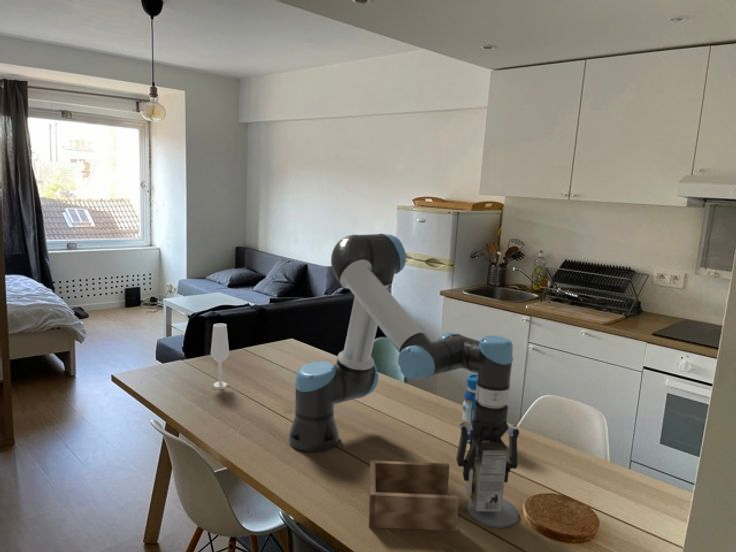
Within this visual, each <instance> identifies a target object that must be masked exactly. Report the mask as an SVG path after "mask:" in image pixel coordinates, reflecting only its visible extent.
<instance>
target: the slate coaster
mask: <svg viewBox="0 0 736 552" xmlns="http://www.w3.org/2000/svg"><path fill="white" fill-rule="evenodd" d="M466 509H467V513H468V515H469V516H470V518H471V519H473V520H474V521H475V522H476V523H478V524H480V525H482V526H486V527H489V528H492V529H493V528H494V529H506V528H509V527H512V526H514V525H516V523H517V522H518V519H519V511H518V509H517V508H516V506H515V505H514V504H513V503H511V502H510V501H509V500H507V499H504V498H502V508H501V511H476V509H475V507H474V505H473V503H472V501H471V499H469V500H468V502H467V508H466Z"/></svg>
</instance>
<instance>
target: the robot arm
mask: <svg viewBox="0 0 736 552" xmlns="http://www.w3.org/2000/svg"><path fill="white" fill-rule="evenodd" d="M406 255H407V253H406V250H405V247H404V245H403V243H402V241H401V240H400V239H399V238H398V237H397V236H395V235H393V234H385V233H378V234H377V233H376V234H375V233H374V234H350V235H347V236H345V237H343V238H341V239H340V240H339V241H338V242H337V243H336V244H335V246H334V247H333V250H332V252H331V256H330V257H331V258H330V264H331V269H332V272H333V274H334V276H335V279H336V280H337V281H338V282H339V284H340V285H341V287H343V288H344V289H349V290H350V292H351V294H353V295H354V299H353V303H352V308H351V313H350V319H349V323H348V327H347V335H346V337H345V338H346V339H345V343H344V348H343V350H342V351H339V353H338V354H337V359H336V363H335V364H333V363H332V362H329V361H326V360H325V361H324V360H321V361H313V362H309V363H306V364H303V365H302V366H300V367H299V368H298V370H297V372H296V376H295V382H294V385H295V386H294V387H295V398H294V399H295V402H294V403H295V405H294V410H295V411H294V418H293V421H292V423H291V426H290V429H289V431H288V443H289V445H290V446H291V447H292V448H294V449H296V450H299V451H302V452H309V453H317V452H324V451H328V450H330V449H333V448H334V447H335V446H337V445H338V443H339V438H340V437H339V434H340V433H339V429H338V425H337V423H336V419H335V415H334V413H335V405H337V404H340V403H344V402H348V401H352V400H355V399H361V398H363V397H365V396H368V395H370V394H372V393H373V392H374V391H375V389H376V388H377V386H378V382H379V373H378V367H377V365H376V364H375V360H374V358H373V357H372V352H373V348H374V344H375V338H376V334H377V330H378V328H379V329H380V330H381V331H382V333H383V334H384V335H385V337H386V338H387V339H388V341H390V343H391V344H392V346H393V347H394V348H395V349H396V351H398V352H397V353H399V354H398V357H397V364H398V366H399V368H400V369H399V371H400V372H401V374H402V376H403V377H405V378H407V379H408V380H413V381H414V380H420V379H421V380H422V379H428V378H430V377H433V376H436V375H438V374H439V375H440V374H443V373H447V372H450V371H454V370H458V369H463V370H467V371H470V372H472V373H474V374H475V373H476V374H477V387H476V400H477V401H476V402H475V411H474V419H473V421H472V423H471V424H466V425H465V424H464V423H462V422H461V423H460V424H459V427H460V438H459V443H458V449H457V453H456V463H457V465H458V467H463V469H462V471H463V472H462V477H463V479H464V481H465V482H466V483H465V485H466V486H465V487H466V488H465V489H466V492H467V496H469V495H471V492H472V480H473V468H472V463H473V461H474V459H475V453H476V444H477V442H474V441H473V442H472V445H471V447H470V446H469V449H468V451H467V444H468V442H467V441H468V434H470V431H471V429H473V430H474V431H475V433H476V434H475V435H476V436H478V437H479V439H478V441H484V440H492V441H496V442H497V443H502V441H503V439H502V437H503V436H504V435H505V433H507V434H508V440H509V441H508V442H509V444H508V445H509V446H508V447H509V449H508V451H509V460H508V458H507V459H506V469H505V479H504V483H508V481H509V473H510V472H511V470H512V469H513V470H516V469H517V468H518V437H519V435H520V430H519V428H518V427H517V425H515V424H514V425H509V424H508V422H507V420H508V411H509V406H508V404H509V398H510V397H509V396H510V386H511V385H510V384H511V373H512V364H513V361H514V358H513V350H514V349H513V348H514V346H513V342H512V341H511V339H509V338H507V337H505V336H498V335H485V336H484V335H483V336H482V337H481V338H480V340H477V339H474V338H472V337H471V338H470V337H468V336H465V335H463V334H459V333H453V332H446V333H443V334H442V336H440V337H439V338H438V340H435V341H431V340H430V339H429V337H428V336H427V335H426V334H425V333H424V331H423V330H422V329H421V328H420V327H419V325H418V324H417V323H416V322H415V321H414V320H413V319H412V317H411V316H410V315H409V313H407V311H406V310H405V309H404V307H402V305H401V304H400V303H399V302H398V301H397V300H396V298H395V296H393V294H392V293H391V292H390V291H389V290H388V287H390V286H391V285H392V284H393V282H394V277H395V275H396V274H399V273H400V272H401V271H403V270H404V268H405V266H406V261H407V260H406V259H407V256H406ZM466 451H467V452H466Z"/></svg>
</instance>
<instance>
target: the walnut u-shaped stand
mask: <svg viewBox="0 0 736 552" xmlns="http://www.w3.org/2000/svg"><path fill="white" fill-rule="evenodd" d="M369 462H370V465H369V467H370V468H369V481H368V482H369V485H368V487H369V488H368V528H382V529H398V530H399V529H402V530H403V529H404V530H424V531H425V530H426V531H428V530H429V531H445V532H446V531H447V532H448V531H449V532H451V531H452V532H453V531H454V532H456V531H457V526H458V516H459V514H458V512H459V502H460V499H459V495H448V493H449V491H448V489H449V481H450V480H449V478H450V477H449V476H450V463H442V462H441V463H438V462H416V461H414V462H413V461H394V460H373V459H372V460H369Z"/></svg>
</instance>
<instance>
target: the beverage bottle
mask: <svg viewBox="0 0 736 552" xmlns="http://www.w3.org/2000/svg"><path fill="white" fill-rule="evenodd" d="M466 387H467V390H466V391H465V392H464V394H463V402H462V416H461V423H464V424H465V425H466V424H471V423H472V421H473V419H474V411H475V402H476V401H477V400H476V387H477V373H476V374H475V373H474V374H469V375H468V376H467V379H466ZM471 430H473V429H471ZM470 438H471V431H470V434H468V441H467V443H470Z"/></svg>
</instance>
